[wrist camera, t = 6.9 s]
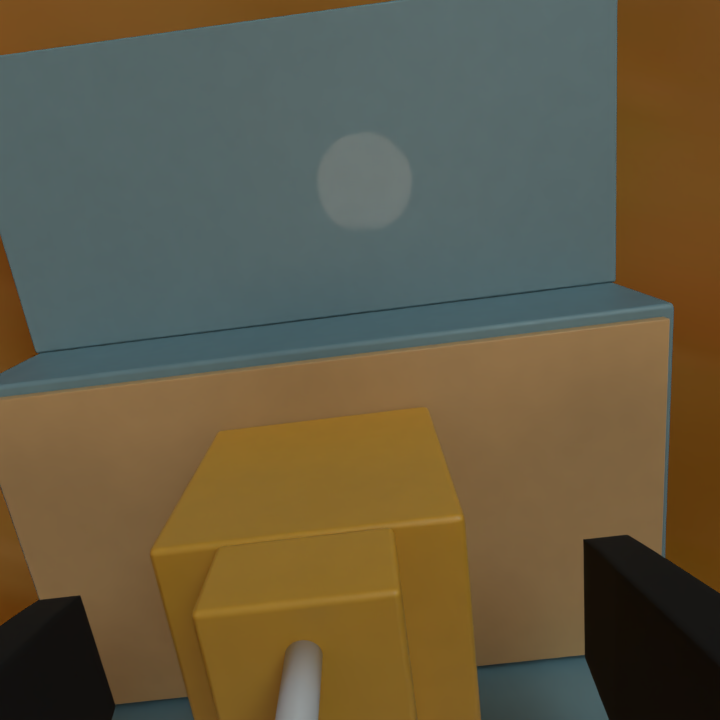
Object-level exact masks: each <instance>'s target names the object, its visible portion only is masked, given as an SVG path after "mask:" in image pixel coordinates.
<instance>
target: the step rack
mask: <svg viewBox="0 0 720 720" xmlns="http://www.w3.org/2000/svg"><path fill="white" fill-rule="evenodd" d="M616 122H617V0H396V1H389V2H382V3H374V4H367V5H360V6H353V7H346V8H338V9H331V10H324V11H317V12H310V13H303V14H295V15H288V16H281V17H274V18H267V19H259V20H252V21H245V22H238V23H231V24H223V25H216V26H209V27H202V28H195V29H187V30H180V31H173V32H166V33H159V34H151V35H144V36H137V37H130V38H123V39H116V40H108V41H101V42H94V43H87V44H80V45H72V46H65V47H58V48H51V49H44V50H36V51H29V52H22V53H15V54H8V55H0V235H1V238H2V242H3V245H4V248H5V252H6V255H7V258H8V262H9V265H10V268H11V272H12V275H13V278H14V282H15V285H16V288H17V292H18V295H19V298H20V301H21V305H22V308H23V311H24V315H25V318H26V321H27V325H28V328H29V331H30V335H31V338H32V341H33V345H34V348H35V351H36V353H40V354H38V355H36V356H34V357H32V358H30V359H28V360H26V361H24V362H22V363H20V364H18V365H16V366H14V367H12V368H10V369H8V370H6V371H4V372H2V373H0V487H1V490H2V493H3V496H4V498H5V501H6V504H7V507H8V510H9V513H10V516H11V519H12V522H13V525H14V527H15V530H16V533H17V536H18V539H19V542H20V545H21V548H22V551H23V554H24V557H25V559H26V562H27V565H28V568H29V571H30V574H31V577H32V580H33V583H34V586H35V588H36V591H37V594H38V597H39V600H42V599H51V598H60V597H69V596H78V595H80V596H81V599H82V602H83V605H84V608H85V611H86V614H87V618H88V621H89V624H90V627H91V630H92V633H93V636H94V640H95V643H96V646H97V649H98V652H99V655H100V658H101V662H102V665H103V668H104V671H105V674H106V677H107V680H108V684H109V687H110V690H111V693H112V696H113V699H114V702H115V706H116V707H115V711H114V714H113V717H112V720H194V718H193V714H192V710H191V706H190V703H189V699H188V695H187V692H186V688H185V684H184V680H183V677H182V673H181V669H180V666H179V662H178V658H177V655H176V651H175V647H174V643H173V640H172V636H171V632H170V629H169V625H168V621H167V617H166V614H165V610H164V606H163V603H162V599H161V595H160V591H159V588H158V584H157V580H156V577H155V573H154V569H153V566H152V562H151V558H150V551H151V548H152V546H153V545H154V543H155V541H156V539H157V538H158V536H159V534H160V532H161V531H162V529H163V527H164V525H165V524H166V522H167V520H168V518H169V517H170V515H171V513H172V511H173V510H174V508H175V506H176V505H177V503H178V501H179V499H180V498H181V496H182V494H183V492H184V491H185V489H186V487H187V485H188V484H189V482H190V480H191V478H192V477H193V475H194V473H195V471H196V470H197V468H198V466H199V465H200V463H201V461H202V459H203V458H204V456H205V454H206V452H207V451H208V449H209V447H210V445H211V444H212V442H213V440H214V438H215V437H216V435H217V433H218V432H220V431H225V430H234V429H242V428H251V427H259V426H268V425H276V424H284V423H293V422H301V421H310V420H318V419H327V418H335V417H343V416H352V415H360V414H369V413H377V412H386V411H394V410H402V409H411V408H419V407H426V408H427V409H428V411H429V413H430V416H431V419H432V422H433V425H434V428H435V431H436V434H437V437H438V440H439V443H440V446H441V449H442V452H443V455H444V458H445V461H446V464H447V467H448V470H449V473H450V475H451V478H452V481H453V484H454V487H455V490H456V493H457V496H458V499H459V502H460V505H461V508H462V511H463V514H464V517H465V525H466V538H467V550H468V563H469V575H470V587H471V600H472V612H473V625H474V637H475V649H476V662H477V674H478V687H479V699H480V711H481V720H609V718H608V716H607V713H606V711H605V708H604V706H603V703H602V701H601V698H600V696H599V693H598V690H597V688H596V685H595V683H594V680H593V677H592V675H591V672H590V669H589V667H588V664H587V662H586V659H585V634H584V552H583V539H591V538H601V537H610V536H619V535H629V536H631V537H632V538H634V539H636V540H637V541H639V542H641V543H642V544H644V545H645V546H647V547H649V548H650V549H652V550H653V551H655V552H656V553H658V554H660V555H661V556H663V557H664V558H665V537H666V509H667V482H668V454H669V427H670V399H671V372H672V344H673V317H674V307H673V305H672V303H669V302H666V301H663V300H660V299H657V298H655V297H652V296H649V295H646V294H643V293H640V292H637V291H635V290H632V289H629V288H626V287H623V286H620V285H617V284H614V283H612V282H614V281H615V280H616Z"/></svg>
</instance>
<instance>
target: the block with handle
mask: <svg viewBox="0 0 720 720" xmlns="http://www.w3.org/2000/svg"><path fill="white" fill-rule="evenodd" d="M150 558H151V562H152V566H153V569H154V573H155V577H156V580H157V584H158V588H159V591H160V595H161V599H162V603H163V606H164V610H165V614H166V617H167V621H168V625H169V629H170V632H171V636H172V640H173V643H174V647H175V651H176V655H177V658H178V662H179V666H180V669H181V673H182V677H183V680H184V684H185V688H186V692H187V695H188V699H189V703H190V706H191V710H192V714H193V718H194V720H481V711H480V699H479V687H478V674H477V662H476V649H475V637H474V625H473V612H472V600H471V587H470V575H469V563H468V550H467V538H466V525H465V517H464V514H463V511H462V508H461V505H460V502H459V499H458V496H457V493H456V490H455V487H454V484H453V481H452V478H451V475H450V473H449V470H448V467H447V464H446V461H445V458H444V455H443V452H442V449H441V446H440V443H439V440H438V437H437V434H436V431H435V428H434V425H433V422H432V419H431V416H430V413H429V411H428V409H427V408H426V407H419V408H411V409H402V410H394V411H386V412H377V413H369V414H360V415H352V416H343V417H335V418H327V419H318V420H310V421H301V422H293V423H284V424H276V425H268V426H259V427H251V428H242V429H234V430H225V431H220V432H218V433H217V435H216V437H215V438H214V440H213V442H212V444H211V445H210V447H209V449H208V451H207V452H206V454H205V456H204V458H203V459H202V461H201V463H200V465H199V466H198V468H197V470H196V471H195V473H194V475H193V477H192V478H191V480H190V482H189V484H188V485H187V487H186V489H185V491H184V492H183V494H182V496H181V498H180V499H179V501H178V503H177V505H176V506H175V508H174V510H173V511H172V513H171V515H170V517H169V518H168V520H167V522H166V524H165V525H164V527H163V529H162V531H161V532H160V534H159V536H158V538H157V539H156V541H155V543H154V545H153V546H152V548H151V551H150Z"/></svg>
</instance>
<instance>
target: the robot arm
mask: <svg viewBox="0 0 720 720" xmlns="http://www.w3.org/2000/svg"><path fill="white" fill-rule="evenodd" d="M583 552H584V634H585V659H586V662H587V664H588V667H589V669H590V672H591V675H592V677H593V680H594V683H595V685H596V688H597V690H598V693H599V696H600V698H601V701H602V703H603V706H604V708H605V711H606V713H607V716H608V718H609V720H720V593H718V592H717V591H715V590H713V589H712V588H710V587H709V586H707V585H706V584H704V583H703V582H701V581H700V580H698V579H696V578H695V577H693V576H692V575H690V574H689V573H687V572H686V571H684V570H683V569H681V568H680V567H678V566H677V565H675V564H673V563H672V562H670V561H669V560H667V559H666V558H664V557H663V556H661V555H660V554H658V553H656V552H655V551H653V550H652V549H650V548H649V547H647V546H645V545H644V544H642V543H641V542H639V541H637V540H636V539H634V538H632V537H631V536H629V535H619V536H610V537H601V538H591V539H583ZM115 707H116V706H115V702H114V699H113V696H112V693H111V690H110V687H109V684H108V680H107V677H106V674H105V671H104V668H103V665H102V662H101V658H100V655H99V652H98V649H97V646H96V643H95V640H94V636H93V633H92V630H91V627H90V624H89V621H88V618H87V614H86V611H85V608H84V605H83V602H82V599H81V596H80V595H78V596H69V597H60V598H51V599H42V600H38V601H37V602H35V603H34V604H32V605H30V606H29V607H27V608H26V609H24V610H23V611H21V612H20V613H18V614H17V615H15V616H14V617H12V618H11V619H10V620H8V621H7V622H5V623H4V624H2V625H1V626H0V720H112V717H113V714H114V711H115Z"/></svg>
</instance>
